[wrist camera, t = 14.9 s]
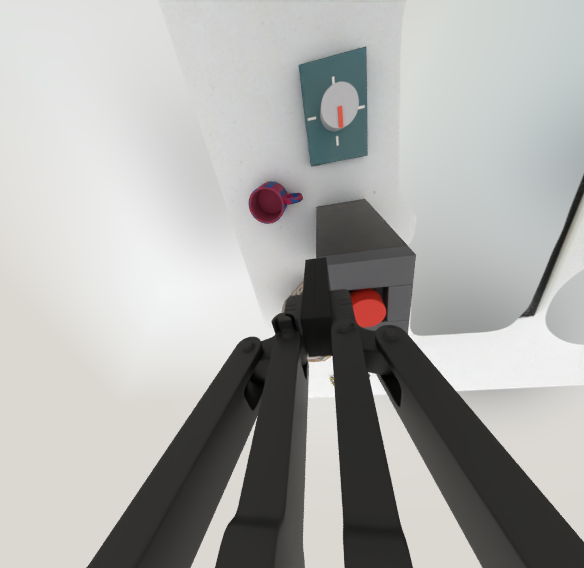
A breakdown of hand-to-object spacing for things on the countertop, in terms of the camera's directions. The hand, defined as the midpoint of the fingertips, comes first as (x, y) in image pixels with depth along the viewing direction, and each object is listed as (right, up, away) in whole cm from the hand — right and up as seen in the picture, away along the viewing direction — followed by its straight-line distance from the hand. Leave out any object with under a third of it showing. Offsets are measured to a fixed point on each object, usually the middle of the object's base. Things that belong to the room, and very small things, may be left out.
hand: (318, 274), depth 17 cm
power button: (+7, -3, +10) cm, 13 cm away
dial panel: (+5, +29, +23) cm, 37 cm away
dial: (+5, +27, +20) cm, 34 cm away
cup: (-5, +18, +31) cm, 36 cm away
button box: (+9, +11, +33) cm, 36 cm away
